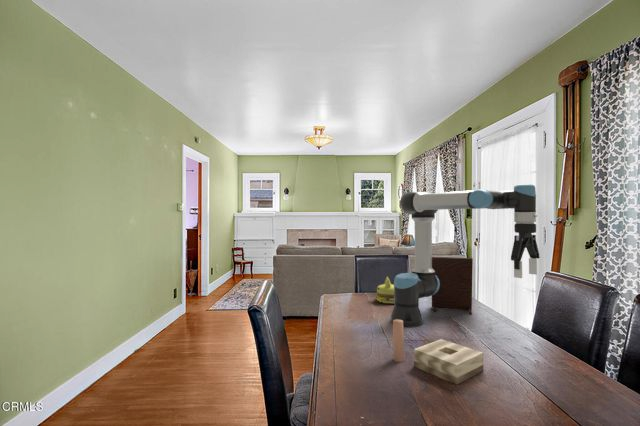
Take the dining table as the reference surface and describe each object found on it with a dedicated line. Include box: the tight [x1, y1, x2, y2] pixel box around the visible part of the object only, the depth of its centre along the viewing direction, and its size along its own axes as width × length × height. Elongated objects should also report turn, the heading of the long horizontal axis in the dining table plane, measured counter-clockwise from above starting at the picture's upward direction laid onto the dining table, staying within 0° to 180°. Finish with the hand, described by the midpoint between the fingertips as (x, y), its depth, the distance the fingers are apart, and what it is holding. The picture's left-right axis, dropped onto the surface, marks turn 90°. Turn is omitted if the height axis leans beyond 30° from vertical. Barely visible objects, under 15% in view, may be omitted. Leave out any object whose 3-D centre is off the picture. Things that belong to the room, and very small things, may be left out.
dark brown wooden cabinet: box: [431, 256, 474, 316], centre depth 187 cm, size 21×11×30 cm, turn 71°
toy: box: [375, 276, 394, 304], centre depth 208 cm, size 16×15×15 cm
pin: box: [392, 319, 404, 363], centre depth 122 cm, size 4×4×14 cm
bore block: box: [413, 338, 484, 385], centre depth 115 cm, size 16×16×6 cm
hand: (525, 275), depth 136 cm, fingers open, 13 cm apart
